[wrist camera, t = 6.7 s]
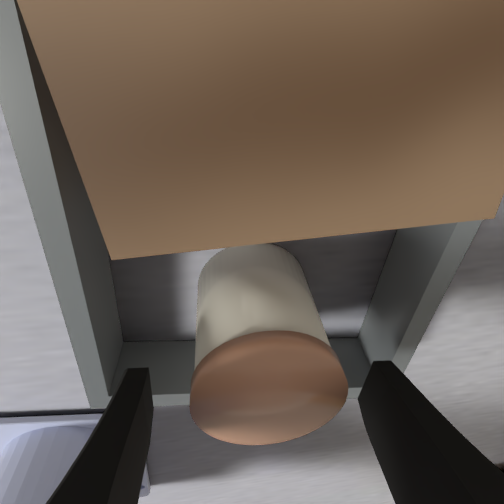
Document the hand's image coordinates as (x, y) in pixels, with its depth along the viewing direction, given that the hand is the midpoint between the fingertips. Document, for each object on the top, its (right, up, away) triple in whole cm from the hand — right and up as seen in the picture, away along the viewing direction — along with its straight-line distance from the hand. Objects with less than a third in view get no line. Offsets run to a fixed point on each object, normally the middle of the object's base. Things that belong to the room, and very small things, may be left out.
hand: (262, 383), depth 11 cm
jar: (0, +3, +4) cm, 5 cm away
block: (0, +9, 0) cm, 9 cm away
